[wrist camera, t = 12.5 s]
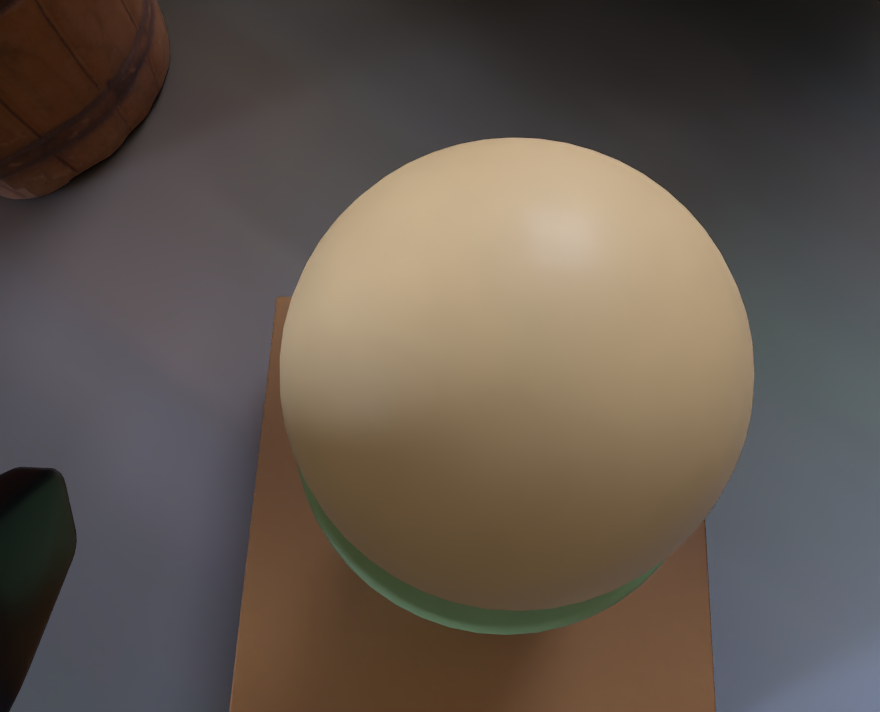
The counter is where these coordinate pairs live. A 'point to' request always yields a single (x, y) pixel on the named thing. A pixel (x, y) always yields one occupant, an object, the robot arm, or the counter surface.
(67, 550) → the robot arm
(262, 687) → the walnut block
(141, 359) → the counter surface
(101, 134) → the wooden figurine
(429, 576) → the peg doll
